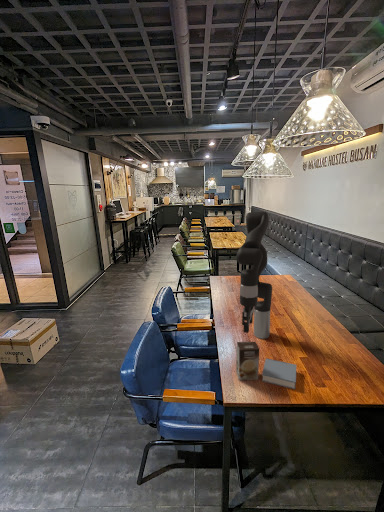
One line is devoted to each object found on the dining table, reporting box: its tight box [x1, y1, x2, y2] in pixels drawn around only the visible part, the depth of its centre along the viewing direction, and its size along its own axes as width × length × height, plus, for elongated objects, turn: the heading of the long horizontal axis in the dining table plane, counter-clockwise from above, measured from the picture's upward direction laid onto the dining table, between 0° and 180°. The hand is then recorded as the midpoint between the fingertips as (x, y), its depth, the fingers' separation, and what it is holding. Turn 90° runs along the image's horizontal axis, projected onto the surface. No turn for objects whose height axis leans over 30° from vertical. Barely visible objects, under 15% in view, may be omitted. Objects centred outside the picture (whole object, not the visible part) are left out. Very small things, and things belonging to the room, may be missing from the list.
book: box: [261, 357, 297, 390], centre depth 114 cm, size 12×14×4 cm
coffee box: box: [235, 341, 260, 381], centre depth 114 cm, size 9×6×16 cm
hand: (248, 327), depth 110 cm, fingers open, 8 cm apart
